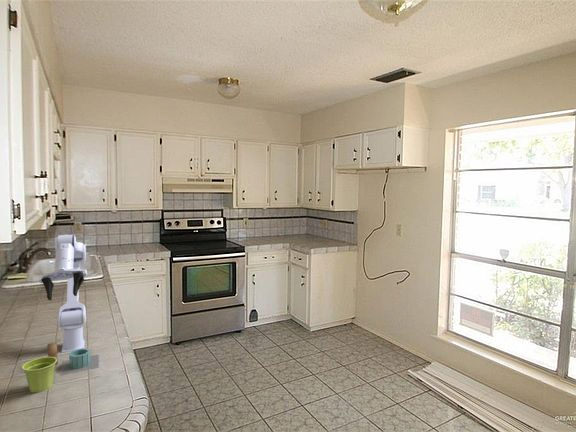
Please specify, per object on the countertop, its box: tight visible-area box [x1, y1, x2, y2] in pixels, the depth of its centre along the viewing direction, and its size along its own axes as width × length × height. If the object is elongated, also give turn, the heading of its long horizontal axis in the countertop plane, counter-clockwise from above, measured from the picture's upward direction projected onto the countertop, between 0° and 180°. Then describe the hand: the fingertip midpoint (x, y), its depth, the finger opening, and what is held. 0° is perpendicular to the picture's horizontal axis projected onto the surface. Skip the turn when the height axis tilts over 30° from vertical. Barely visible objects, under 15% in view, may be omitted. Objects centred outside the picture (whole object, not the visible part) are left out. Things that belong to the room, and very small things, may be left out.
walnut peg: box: [46, 342, 59, 366], centre depth 135 cm, size 3×3×8 cm
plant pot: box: [21, 356, 57, 394], centre depth 119 cm, size 9×9×9 cm
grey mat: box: [60, 354, 100, 376], centre depth 135 cm, size 12×12×1 cm
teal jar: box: [68, 347, 92, 369], centre depth 135 cm, size 7×7×5 cm
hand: (62, 296), depth 124 cm, fingers open, 7 cm apart
